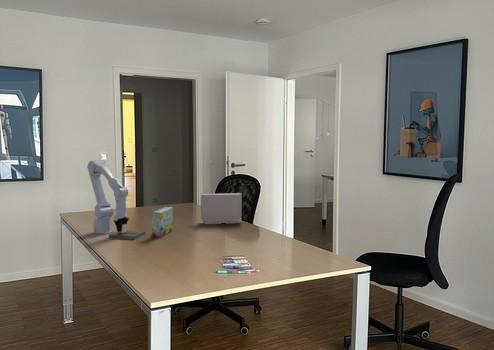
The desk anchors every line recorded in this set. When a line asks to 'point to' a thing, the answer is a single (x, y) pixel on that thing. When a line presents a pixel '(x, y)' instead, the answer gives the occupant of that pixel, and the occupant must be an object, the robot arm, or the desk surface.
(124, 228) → the fader cap
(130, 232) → the console panel
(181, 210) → the desk surface
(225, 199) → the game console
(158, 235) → the snack box
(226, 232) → the desk surface
